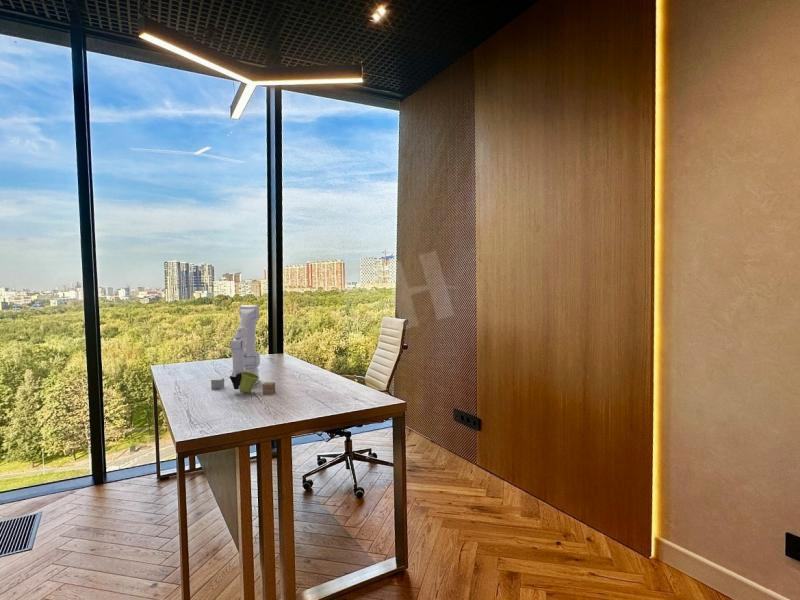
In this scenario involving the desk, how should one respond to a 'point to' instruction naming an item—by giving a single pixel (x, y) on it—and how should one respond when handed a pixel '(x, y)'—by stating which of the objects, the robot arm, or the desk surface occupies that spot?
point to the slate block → (217, 383)
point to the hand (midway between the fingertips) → (239, 387)
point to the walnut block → (269, 387)
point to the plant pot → (248, 381)
